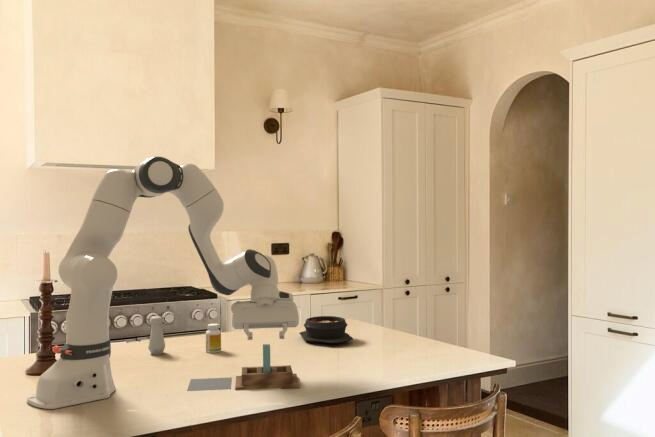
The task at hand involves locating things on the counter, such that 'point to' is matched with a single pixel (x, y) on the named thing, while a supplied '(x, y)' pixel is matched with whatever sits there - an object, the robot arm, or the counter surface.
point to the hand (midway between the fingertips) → (266, 338)
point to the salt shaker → (156, 336)
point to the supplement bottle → (213, 339)
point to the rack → (267, 378)
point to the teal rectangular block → (266, 358)
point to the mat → (209, 384)
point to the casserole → (326, 330)
